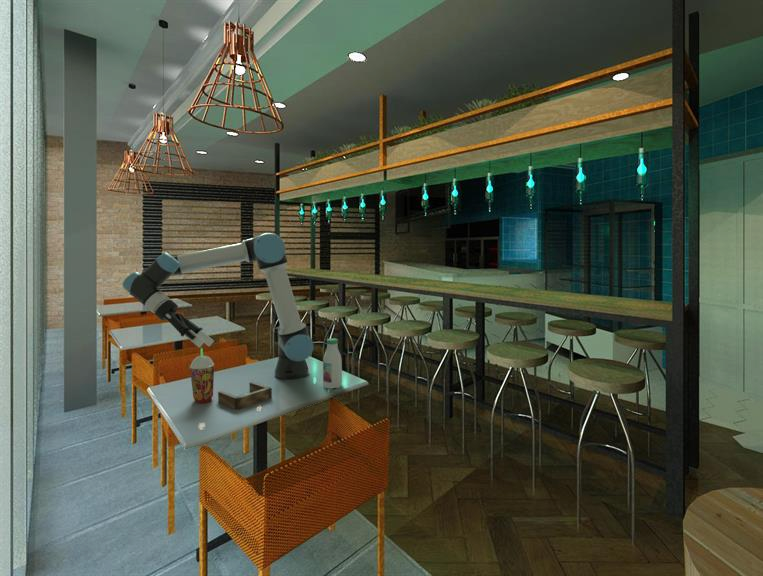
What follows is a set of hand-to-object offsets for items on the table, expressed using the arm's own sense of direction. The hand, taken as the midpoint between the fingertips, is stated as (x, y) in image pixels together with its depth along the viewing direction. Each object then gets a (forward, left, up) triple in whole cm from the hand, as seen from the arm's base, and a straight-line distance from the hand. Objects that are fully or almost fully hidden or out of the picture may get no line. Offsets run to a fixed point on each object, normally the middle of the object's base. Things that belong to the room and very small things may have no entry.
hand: (207, 344), depth 152 cm
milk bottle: (-43, +20, -22) cm, 52 cm away
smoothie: (+1, -3, -22) cm, 22 cm away
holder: (-10, +7, -22) cm, 25 cm away
